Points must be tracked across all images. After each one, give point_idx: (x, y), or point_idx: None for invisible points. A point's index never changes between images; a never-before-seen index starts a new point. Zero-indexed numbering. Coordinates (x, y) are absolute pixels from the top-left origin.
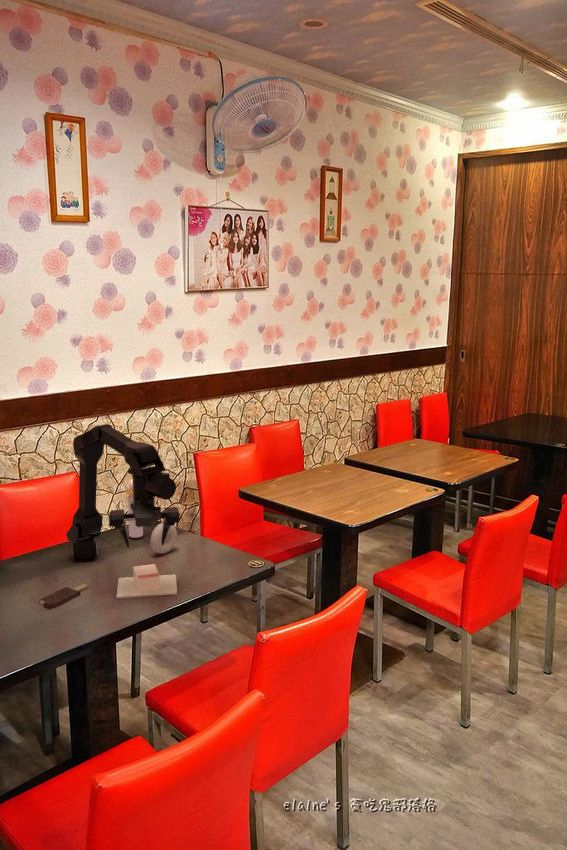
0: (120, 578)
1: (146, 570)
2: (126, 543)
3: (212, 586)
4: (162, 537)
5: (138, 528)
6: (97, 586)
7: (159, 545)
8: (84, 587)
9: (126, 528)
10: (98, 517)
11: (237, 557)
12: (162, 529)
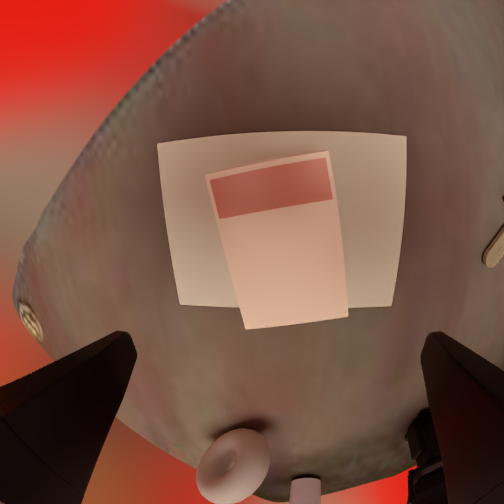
0: (385, 301)
1: (283, 263)
2: (468, 350)
3: (67, 204)
4: (70, 368)
5: (299, 494)
6: (458, 257)
7: (243, 445)
8: (493, 244)
9: (493, 499)
10: None
11: None
12: (83, 459)
